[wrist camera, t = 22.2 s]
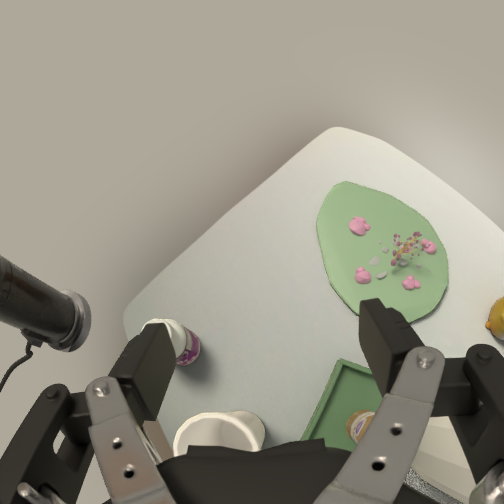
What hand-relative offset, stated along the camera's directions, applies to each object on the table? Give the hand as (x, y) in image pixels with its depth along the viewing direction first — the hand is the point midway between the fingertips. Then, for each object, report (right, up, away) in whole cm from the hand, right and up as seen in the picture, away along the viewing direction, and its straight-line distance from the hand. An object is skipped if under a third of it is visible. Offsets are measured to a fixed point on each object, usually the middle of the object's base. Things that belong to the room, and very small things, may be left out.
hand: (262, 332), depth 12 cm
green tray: (+14, -19, +21) cm, 31 cm away
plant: (+19, +4, +31) cm, 37 cm away
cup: (-2, -21, +23) cm, 31 cm away
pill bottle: (-10, -10, +29) cm, 32 cm away
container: (+28, -23, +17) cm, 40 cm away
